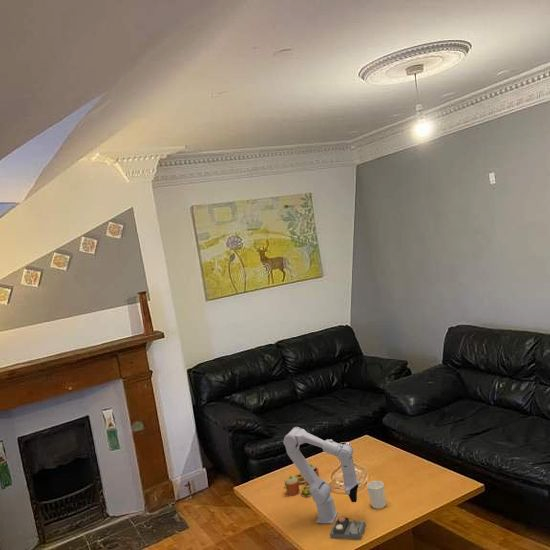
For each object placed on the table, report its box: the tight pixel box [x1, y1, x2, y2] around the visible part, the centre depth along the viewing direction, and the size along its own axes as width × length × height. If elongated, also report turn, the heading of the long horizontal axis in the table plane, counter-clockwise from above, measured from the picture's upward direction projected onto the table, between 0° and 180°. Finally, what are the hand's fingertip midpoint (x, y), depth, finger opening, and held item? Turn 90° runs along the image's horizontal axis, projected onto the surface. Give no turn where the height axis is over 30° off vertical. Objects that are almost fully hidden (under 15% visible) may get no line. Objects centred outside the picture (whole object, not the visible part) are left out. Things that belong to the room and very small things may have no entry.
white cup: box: [366, 480, 387, 510], centre depth 249 cm, size 8×8×10 cm
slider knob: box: [350, 523, 359, 534], centre depth 227 cm, size 3×3×3 cm
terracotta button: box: [337, 515, 346, 523], centre depth 235 cm, size 3×3×2 cm
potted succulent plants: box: [283, 463, 320, 498], centre depth 281 cm, size 26×16×10 cm, turn 163°
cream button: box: [336, 524, 343, 530], centre depth 230 cm, size 3×3×2 cm
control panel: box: [329, 517, 367, 540], centre depth 232 cm, size 10×14×4 cm
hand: (354, 501), depth 238 cm, fingers closed
